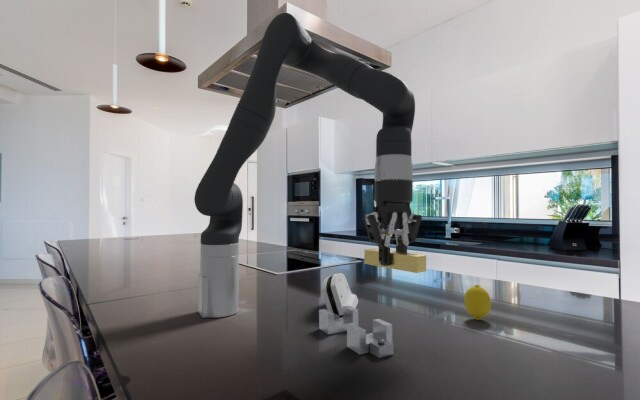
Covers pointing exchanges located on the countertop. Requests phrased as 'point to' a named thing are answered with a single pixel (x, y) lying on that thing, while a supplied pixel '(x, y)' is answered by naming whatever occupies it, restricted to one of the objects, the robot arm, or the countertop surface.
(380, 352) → the linkage with metal pins
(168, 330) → the countertop surface
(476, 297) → the lemon
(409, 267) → the link bar
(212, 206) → the robot arm
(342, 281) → the white rounded housing
